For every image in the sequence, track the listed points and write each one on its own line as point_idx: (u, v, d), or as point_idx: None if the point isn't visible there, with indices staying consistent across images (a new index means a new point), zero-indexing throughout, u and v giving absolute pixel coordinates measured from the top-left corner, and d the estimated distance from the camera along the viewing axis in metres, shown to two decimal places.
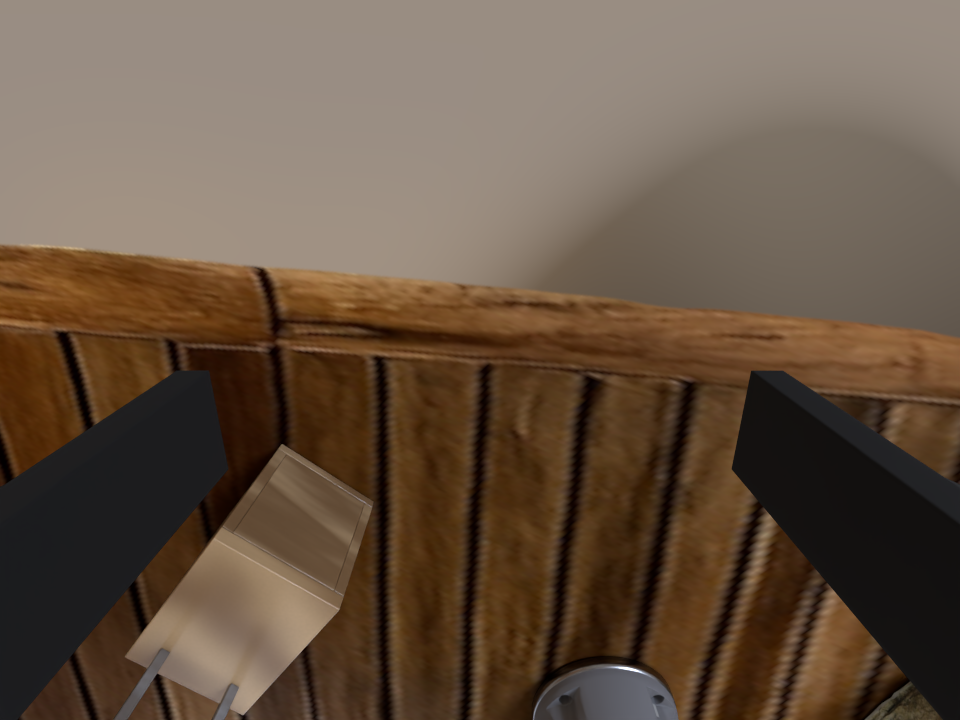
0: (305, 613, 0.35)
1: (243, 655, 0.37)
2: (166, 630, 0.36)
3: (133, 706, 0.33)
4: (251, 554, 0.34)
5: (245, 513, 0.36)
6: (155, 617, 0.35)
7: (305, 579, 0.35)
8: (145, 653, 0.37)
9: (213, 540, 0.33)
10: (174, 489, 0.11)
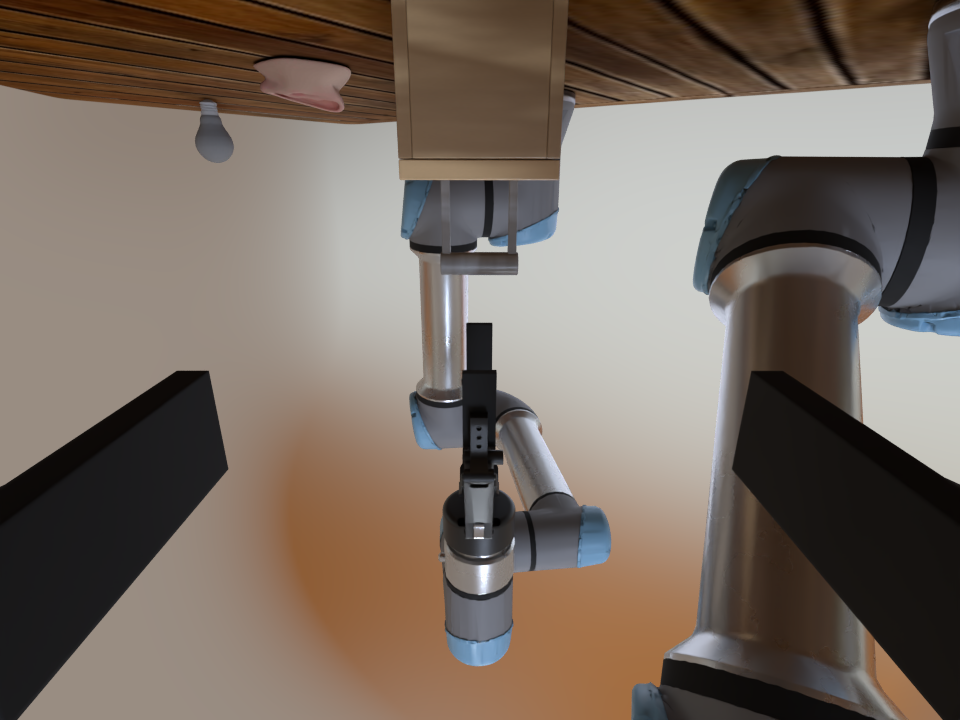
0: None
1: None
2: None
3: (448, 229, 0.43)
4: (442, 173, 0.31)
5: (410, 122, 0.30)
6: None
7: (509, 166, 0.31)
8: None
9: (401, 179, 0.31)
10: (174, 489, 0.11)
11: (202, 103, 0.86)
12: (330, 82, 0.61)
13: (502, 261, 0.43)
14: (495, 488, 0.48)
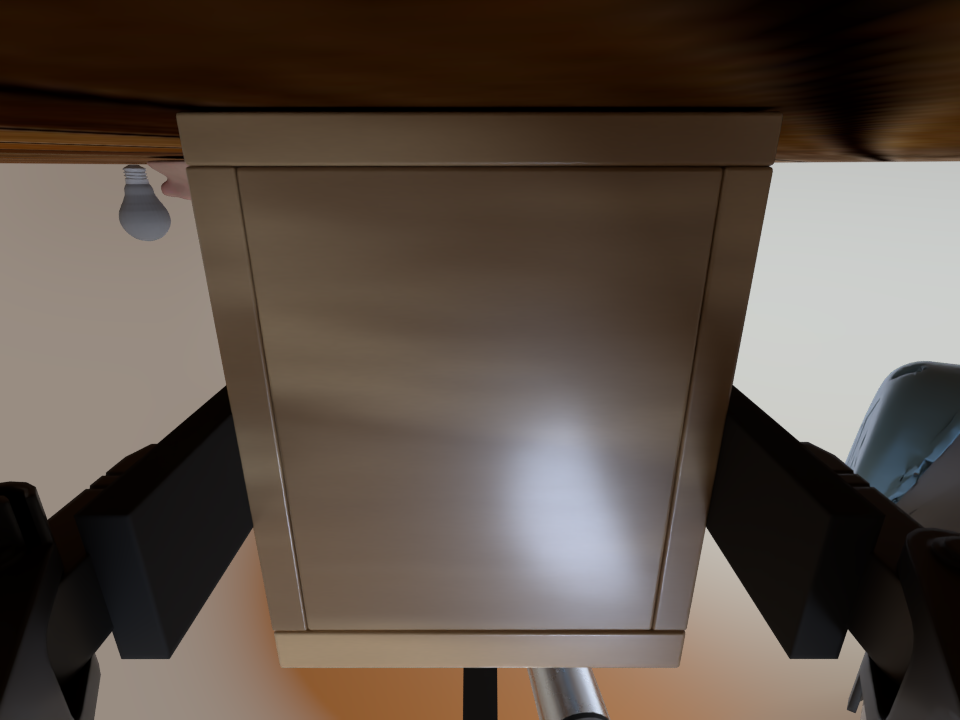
0: None
1: None
2: None
3: None
4: (386, 658, 0.12)
5: (295, 564, 0.11)
6: None
7: (556, 644, 0.12)
8: None
9: None
10: None
11: (126, 170, 0.68)
12: None
13: None
14: None
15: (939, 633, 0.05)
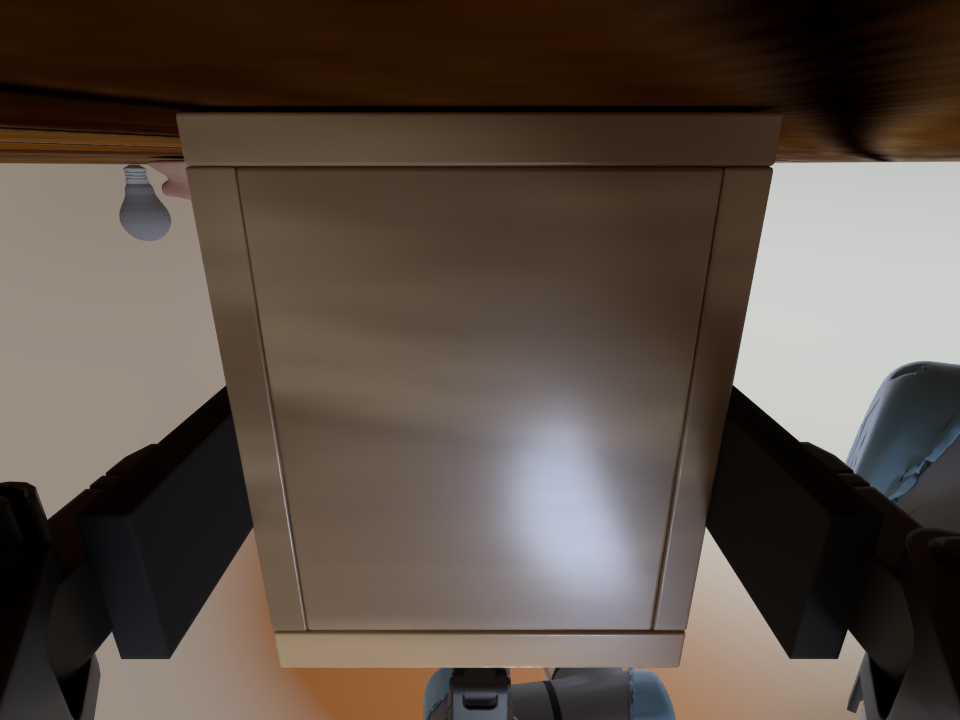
0: None
1: None
2: None
3: None
4: (386, 658, 0.12)
5: (295, 564, 0.11)
6: None
7: (555, 644, 0.12)
8: None
9: None
10: None
11: (126, 170, 0.68)
12: None
13: None
14: None
15: (939, 633, 0.05)
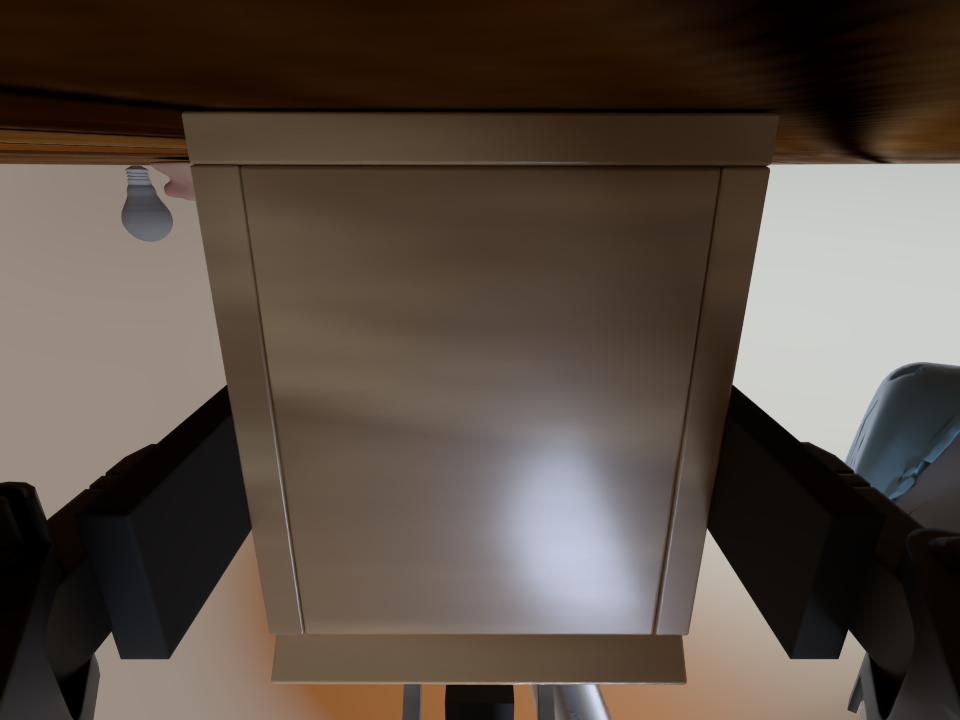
0: None
1: None
2: None
3: (416, 715, 0.21)
4: (383, 666, 0.12)
5: (293, 566, 0.11)
6: None
7: (555, 646, 0.12)
8: None
9: (276, 682, 0.12)
10: None
11: (128, 170, 0.68)
12: None
13: None
14: None
15: (940, 633, 0.05)
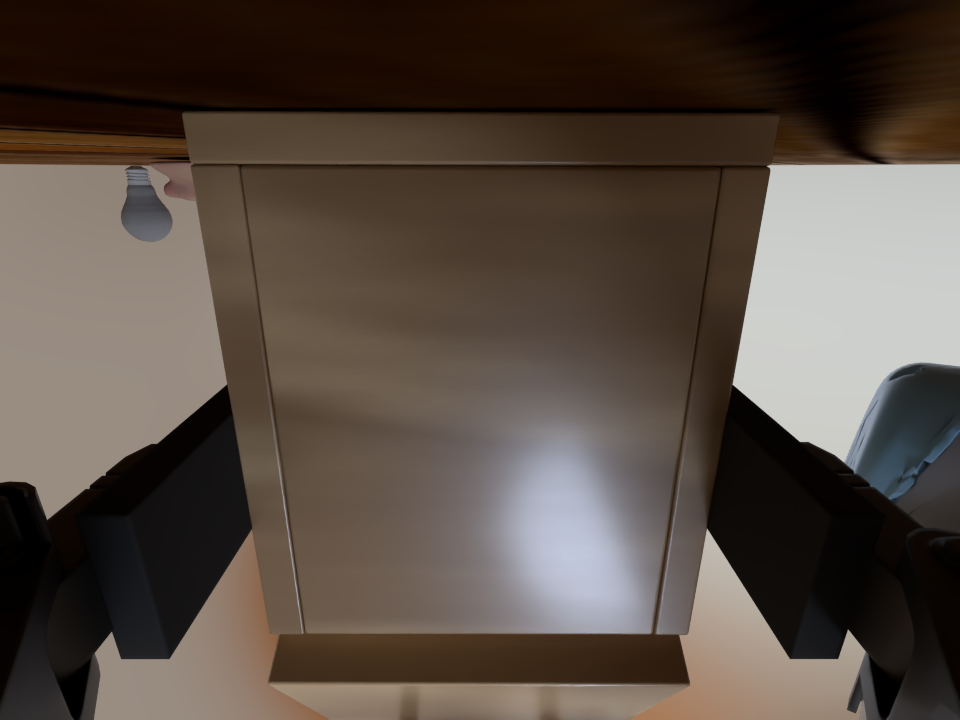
0: (604, 698, 0.13)
1: None
2: None
3: None
4: (383, 666, 0.12)
5: (293, 566, 0.11)
6: None
7: (555, 646, 0.12)
8: None
9: (272, 685, 0.12)
10: None
11: (128, 171, 0.68)
12: None
13: None
14: None
15: (939, 633, 0.05)
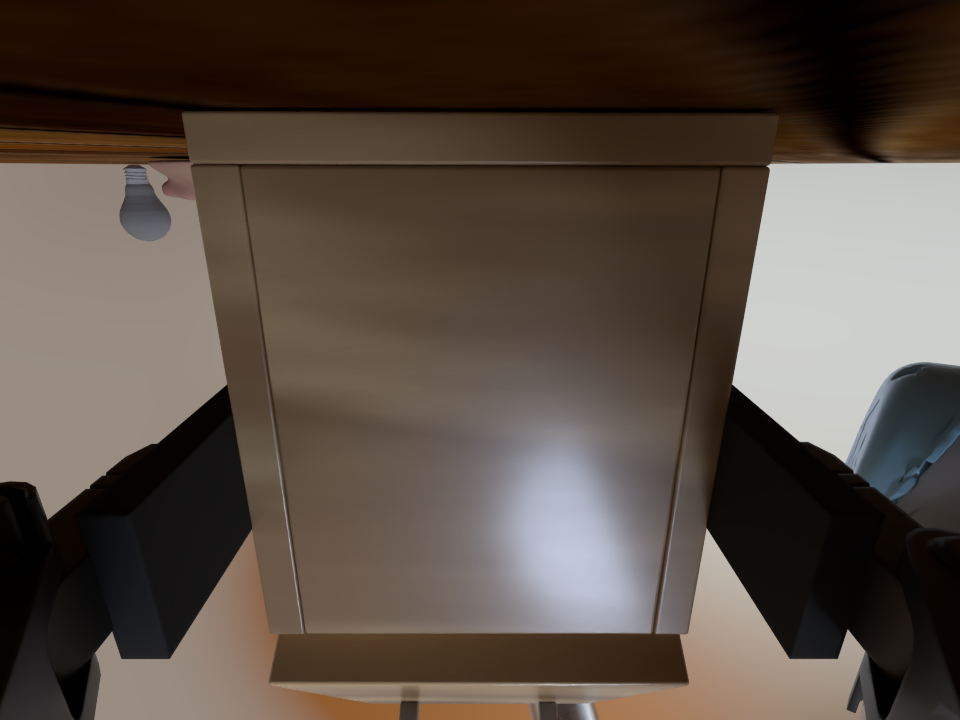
0: (602, 690, 0.13)
1: (528, 698, 0.18)
2: None
3: None
4: (383, 666, 0.12)
5: (293, 565, 0.11)
6: (348, 698, 0.19)
7: (554, 645, 0.12)
8: (387, 702, 0.22)
9: (272, 685, 0.12)
10: None
11: (126, 170, 0.68)
12: None
13: None
14: None
15: (939, 633, 0.05)
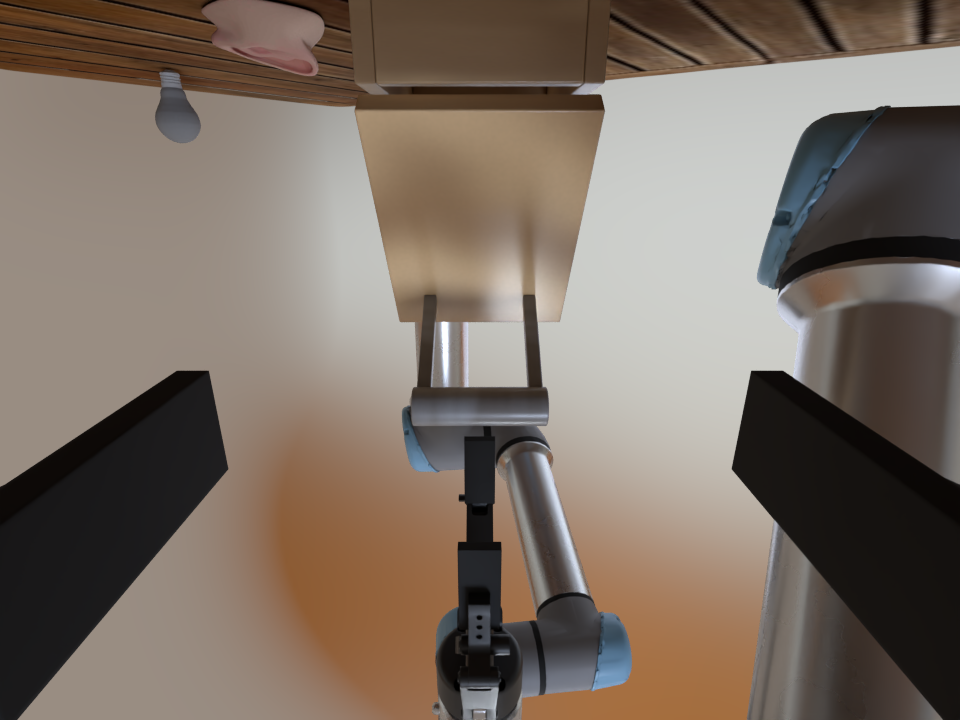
0: (556, 150, 0.21)
1: (513, 256, 0.26)
2: (412, 274, 0.27)
3: (430, 353, 0.27)
4: (422, 104, 0.20)
5: (371, 24, 0.19)
6: (389, 265, 0.27)
7: (525, 98, 0.20)
8: (414, 308, 0.30)
9: (357, 113, 0.20)
10: (174, 489, 0.11)
11: (162, 74, 0.75)
12: (297, 34, 0.50)
13: (520, 391, 0.25)
14: None
15: None
